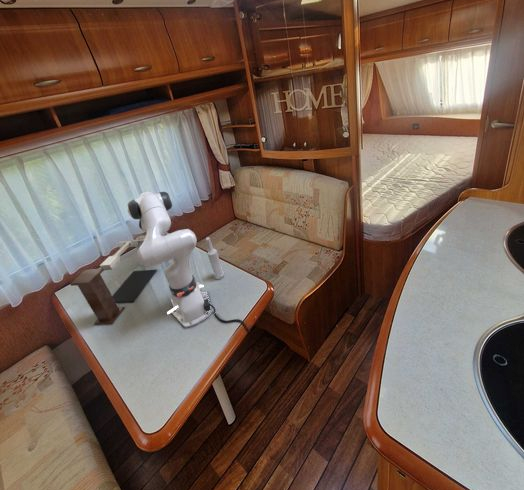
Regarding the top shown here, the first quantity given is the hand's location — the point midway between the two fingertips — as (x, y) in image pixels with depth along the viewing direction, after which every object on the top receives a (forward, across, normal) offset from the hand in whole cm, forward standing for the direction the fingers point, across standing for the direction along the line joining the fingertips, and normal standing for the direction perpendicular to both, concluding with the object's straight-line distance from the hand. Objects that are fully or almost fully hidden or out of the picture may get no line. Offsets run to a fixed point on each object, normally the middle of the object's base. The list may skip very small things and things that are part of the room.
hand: (127, 244), depth 155 cm
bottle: (-7, +52, +23) cm, 57 cm away
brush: (+6, 0, +7) cm, 9 cm away
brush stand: (+15, 0, +35) cm, 38 cm away
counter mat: (-4, 0, +24) cm, 25 cm away
